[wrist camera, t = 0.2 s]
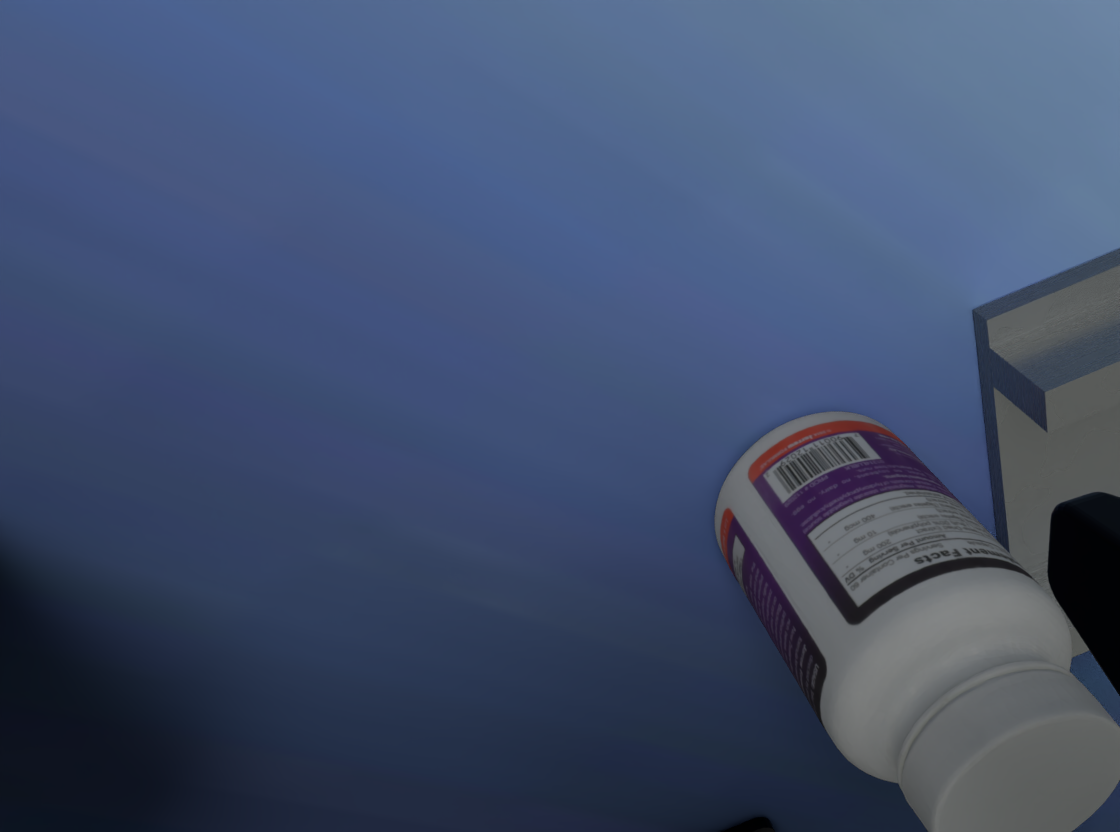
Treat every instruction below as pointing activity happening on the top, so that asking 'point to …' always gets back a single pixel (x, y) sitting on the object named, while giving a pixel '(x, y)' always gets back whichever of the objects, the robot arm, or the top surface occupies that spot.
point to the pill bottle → (914, 630)
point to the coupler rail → (1051, 404)
